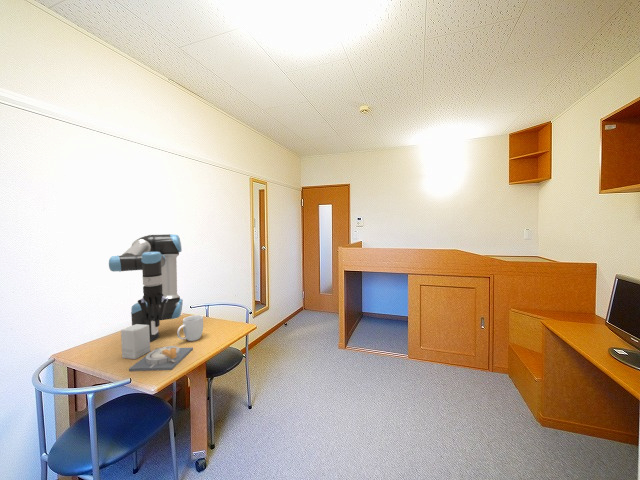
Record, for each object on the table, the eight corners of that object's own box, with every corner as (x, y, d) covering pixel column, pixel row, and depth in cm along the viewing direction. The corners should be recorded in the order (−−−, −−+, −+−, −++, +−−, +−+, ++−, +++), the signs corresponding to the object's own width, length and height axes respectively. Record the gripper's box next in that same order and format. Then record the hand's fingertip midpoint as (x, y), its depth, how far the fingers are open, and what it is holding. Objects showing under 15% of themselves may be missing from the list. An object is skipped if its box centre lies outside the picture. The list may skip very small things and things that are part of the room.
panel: (156, 350, 134) (156, 344, 134) (192, 349, 135) (192, 343, 135) (128, 371, 114) (128, 363, 114) (171, 369, 115) (171, 362, 115)
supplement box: (151, 351, 134) (150, 324, 133) (135, 359, 125) (134, 331, 124) (137, 349, 136) (136, 323, 135) (121, 357, 127) (120, 329, 126)
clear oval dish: (147, 358, 123) (147, 345, 123) (168, 350, 132) (168, 338, 131) (164, 367, 114) (163, 353, 114) (185, 357, 123) (184, 345, 123)
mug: (182, 347, 138) (182, 324, 137) (173, 342, 144) (172, 321, 143) (207, 337, 150) (206, 316, 150) (197, 333, 156) (196, 313, 156)
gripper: (132, 287, 110) (135, 337, 111) (163, 286, 111) (165, 336, 113) (142, 283, 117) (145, 330, 119) (171, 282, 119) (173, 329, 120)
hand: (154, 333), depth 116 cm, fingers closed
